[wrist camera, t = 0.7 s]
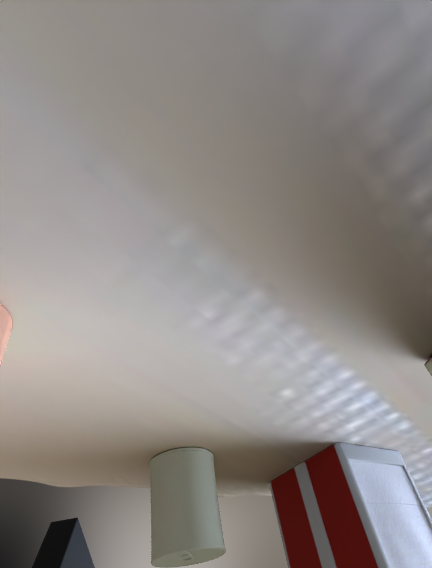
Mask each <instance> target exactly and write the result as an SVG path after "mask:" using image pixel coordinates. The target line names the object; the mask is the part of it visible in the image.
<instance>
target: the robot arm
mask: <svg viewBox="0 0 432 568" xmlns="http://www.w3.org/2000/svg"><path fill="white" fill-rule="evenodd" d="M32 568H95V567H94V564H93V562H92V559H91V556H90V553H89V550H88V547H87V544H86V541H85V538H84V535H83V532H82V529H81V526H80V523H79V520H78V518H73V519H67V520H61V521H56V522H51V524H50V526H49V529H48V531H47V534H46V536H45V538H44V540H43V543H42V545H41V548H40V550H39V552H38V555H37V557H36V559H35V562H34V564H33V566H32Z"/></svg>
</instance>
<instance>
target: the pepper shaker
mask: <svg viewBox="0 0 432 568" xmlns="http://www.w3.org/2000/svg"><path fill="white" fill-rule="evenodd" d="M12 326H13V324H12V319H11V315H10V314H9V313H8V312H7V310H6V309H5V308H4V306H3V305H1V304H0V365H1V362H2V359H3V356H4V353H5V349H6V346H7V343H8V339H9V336H10V333H11V330H12Z"/></svg>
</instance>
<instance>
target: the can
mask: <svg viewBox="0 0 432 568" xmlns="http://www.w3.org/2000/svg"><path fill="white" fill-rule="evenodd" d="M213 460H214V457H213V454H212V453H211V452H210V451H208V450H206V449H202V448H193V447H188V448H178V449H173V450H169V451H166V452H163V453H161V454H159V455H157V456H155V457H154V458H153V459H152V460H151V461H150V462H149V469H150V487H151V539H152V541H151V543H152V545H151V546H152V551H151V555H152V556H151V557H152V558H151V564H152V565H153V566H155V567H180V566H187V565H193V564H198V563H202V562H206V561H209V560H213V559H215V558H218V557H220V556H222V555H223V554H224V553H225V552H226V549H225V545H224V539H223V532H222V525H221V519H220V511H219V504H218V496H217V489H216V481H215V473H214V464H213Z"/></svg>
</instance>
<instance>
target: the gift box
mask: <svg viewBox="0 0 432 568" xmlns="http://www.w3.org/2000/svg"><path fill="white" fill-rule="evenodd" d="M425 367H426V368H427V370H428V371H429V373H430V374H431V376H432V357H431V358H430V359H429V360H428V361H427V362H426V363H425Z"/></svg>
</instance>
